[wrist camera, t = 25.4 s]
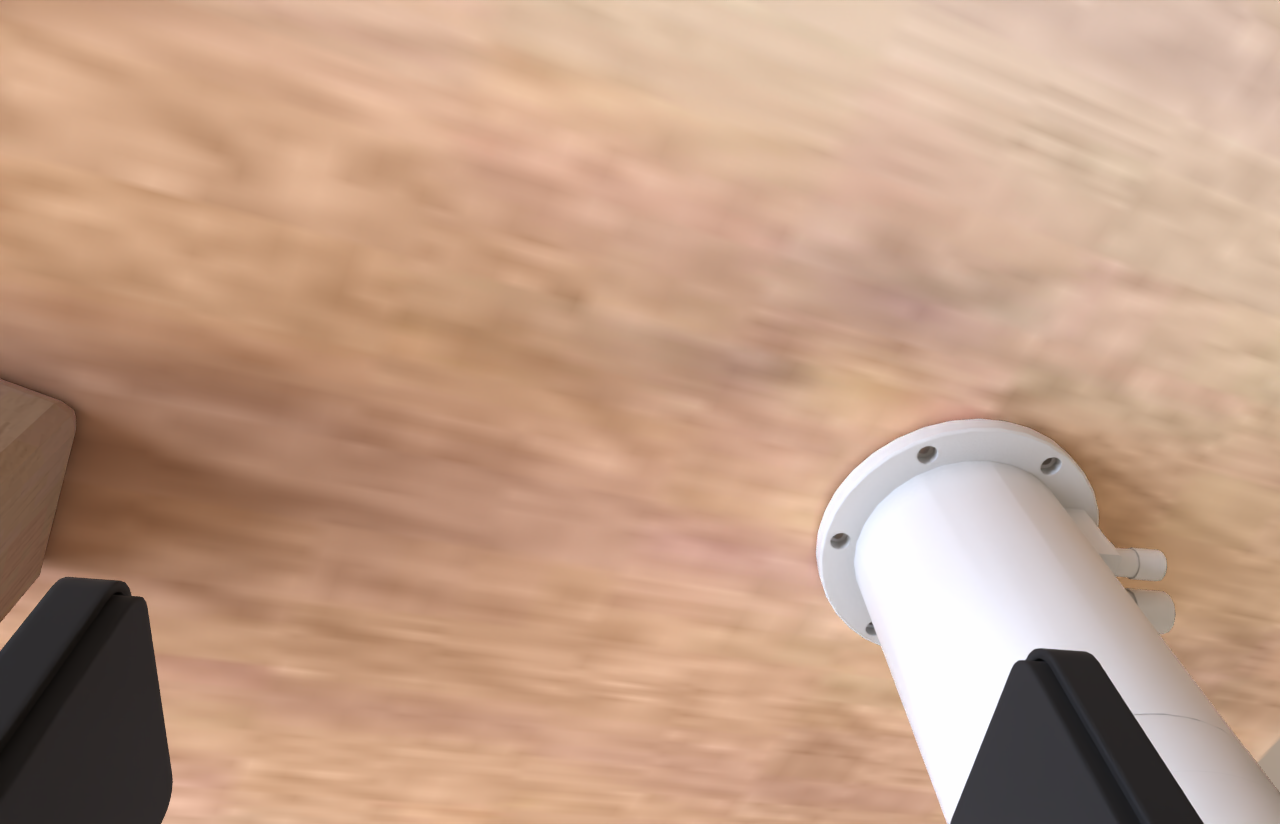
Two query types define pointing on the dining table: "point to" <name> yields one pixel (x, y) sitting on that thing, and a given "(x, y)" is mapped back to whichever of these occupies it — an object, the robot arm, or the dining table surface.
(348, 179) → the dining table surface
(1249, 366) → the dining table surface
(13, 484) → the block
